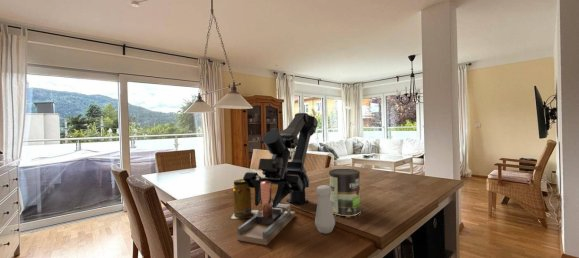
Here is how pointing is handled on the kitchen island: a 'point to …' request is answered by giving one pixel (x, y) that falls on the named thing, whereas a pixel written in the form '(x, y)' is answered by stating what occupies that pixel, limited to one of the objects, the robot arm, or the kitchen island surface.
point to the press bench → (264, 227)
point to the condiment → (242, 200)
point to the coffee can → (345, 191)
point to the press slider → (267, 206)
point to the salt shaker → (324, 210)
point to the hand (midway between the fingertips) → (264, 206)
